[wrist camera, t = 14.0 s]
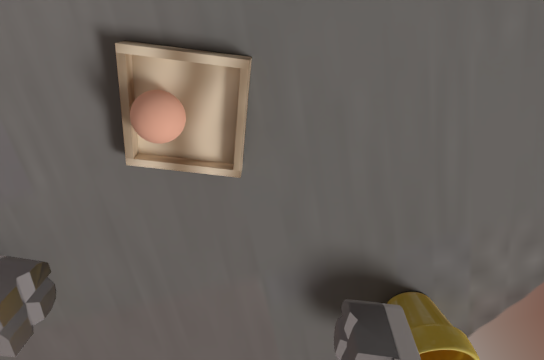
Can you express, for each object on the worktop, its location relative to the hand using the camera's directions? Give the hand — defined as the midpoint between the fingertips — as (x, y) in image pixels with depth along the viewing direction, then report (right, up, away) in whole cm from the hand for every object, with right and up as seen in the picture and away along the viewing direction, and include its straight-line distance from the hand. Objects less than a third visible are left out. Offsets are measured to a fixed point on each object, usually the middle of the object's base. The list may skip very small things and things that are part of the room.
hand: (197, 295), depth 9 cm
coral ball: (-9, +9, +22) cm, 26 cm away
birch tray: (-7, +10, +25) cm, 28 cm away
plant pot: (+21, -15, +38) cm, 46 cm away
